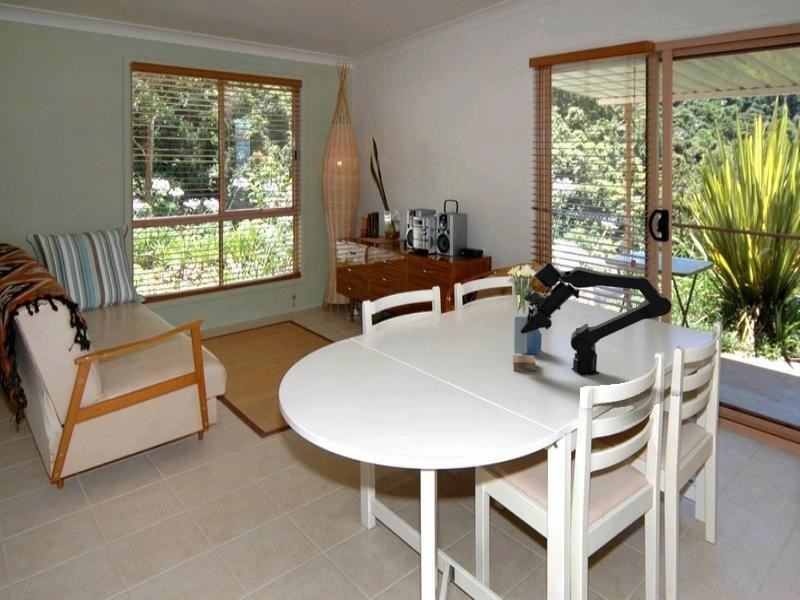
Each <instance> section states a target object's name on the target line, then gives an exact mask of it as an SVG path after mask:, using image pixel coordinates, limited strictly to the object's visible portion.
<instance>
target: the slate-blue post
mask: <svg viewBox="0 0 800 600" xmlns="http://www.w3.org/2000/svg"><path fill="white" fill-rule="evenodd" d="M527 315H528V313H513V352H514V354H521V353H527V333H524V334H522V333H521V330H522V329H523V327H524V326H525V325H526V323H527Z"/></svg>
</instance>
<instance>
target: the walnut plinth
mask: <svg viewBox="0 0 800 600" xmlns="http://www.w3.org/2000/svg"><path fill="white" fill-rule="evenodd" d="M512 367H513V371H515V372H518V371H519V372H536V360H535V356H534V355H527V354H522V355H520V354H519V355H517V354H513V355H512Z"/></svg>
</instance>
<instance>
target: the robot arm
mask: <svg viewBox="0 0 800 600" xmlns="http://www.w3.org/2000/svg"><path fill="white" fill-rule="evenodd" d="M533 277H534V278H535V280H537V281H538V282H539V283H540V284H541V285H542V286H543V287H544V288H546V289H547V288H548V289H549V288H550V289H551V290H550V291H548V292H545V293H543V294H541V293H539V292H536V291H535V290H532V289H529V288H526V289H525V291H524V293H523V295H522V298H523V301H526V302H527V303H528V306H527V308H528V309H527V311H528V312H527V323H526V325H525V326H524V327H523V329H522V330H521V333H522V334H524V333H527V332H530V331H533V330H536V329H538V330H539V329H545V330H549V328H551V327H552V322H553V321H552V319H551V318H552V315H553V314H554V313H555V312H556V311H557V310H558V311H560V310H561V308H562V307H561V306H562V305H563V304H565V302H567V301H568V300H569V299H570V298H571V297H572V296H574V297H575V298H576V299H578V300H579V298H580V296H579V295H580V289H585V288H593V287H607V288H608V287H609V288H619V289H628V290H629V289H630V290H638V291H639V292H640V293H641V294H642V296H643V297H644V298H645V299H644V300H643V301H642V302H641V303H640V304H638V305H637V306H636V307H634V308H632V309H629V310H627V311H625V312H623V313H621V314H618V315H617V316H615V317H612V318H610V319H608V320H605V321H603V322H601V323H599V324H597V325H595V326H589V323H585V324H584V325H582V326H581V327H576V328H575V331H573V332H572V333H571V336H570V346H571V348H572V349H573V350H574V351H575V352H574V358H573V362H572V366H573V367H571V370H572V371H573V370H574V371H573V372H575V373H576V372H577V374H578V375H579V376H581V375H584V376H590V375H591V374H592V375H597V374H600V372H599V371H598V370H597V363H598V362H597V361H598V354H597V348H596V344H597V343H598V342H600V340H601V339H603V338H605V337H608V336H610V335H612V334H614V333H617V332H619V331H621V330H623V329H625V328H627V327H630V326H632V325H635V324H636V323H639V322H641V321H643V320H648V319H649V320H651V319H655V318H659V317H663V316H666V315H669V313H670V312H671V310H672V303H671V302H672V301H671V300H670V299H669V297H668V296H667V295H666V294H665V293H662V292H659V290H657V289H656V287H655V286H653V284H652V283H651V282H650V281H649V279H648V278H647V277H646V276H644V275H632V274H631V275H630V274H620V273H619V274H618V273H608V272H600V271H599V272H598V271H596V270H594V269H590V268H586V267H582V266H576V267H574V268H573V269H571V270H566V271H559V270H558V269H557V267H555V266H554V264H553V263H552V262H551V261H548V262H547V263H546V264H544V265H543V266H541V267H540V268H539V269H538V270H537V271H536V272H535V273H534V275H533ZM555 285H556V286H555Z"/></svg>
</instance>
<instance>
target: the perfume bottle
mask: <svg viewBox="0 0 800 600" xmlns="http://www.w3.org/2000/svg"><path fill="white" fill-rule="evenodd" d="M542 336H543V335H542V333H541V331H540V330H539V329H536V330H533V331H530V332H527V353H520V354H522V355H527V356H534V357H536V356H537V355H538V354H539V353H541V352H542Z"/></svg>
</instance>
